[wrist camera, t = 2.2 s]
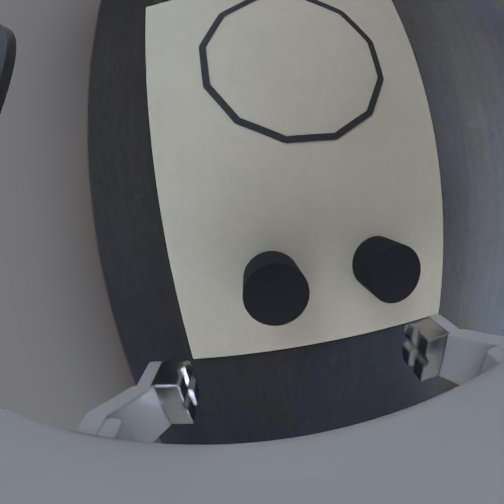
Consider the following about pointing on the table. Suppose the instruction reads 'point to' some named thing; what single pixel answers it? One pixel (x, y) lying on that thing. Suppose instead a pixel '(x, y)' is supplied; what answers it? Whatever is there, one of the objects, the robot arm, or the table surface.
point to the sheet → (289, 161)
